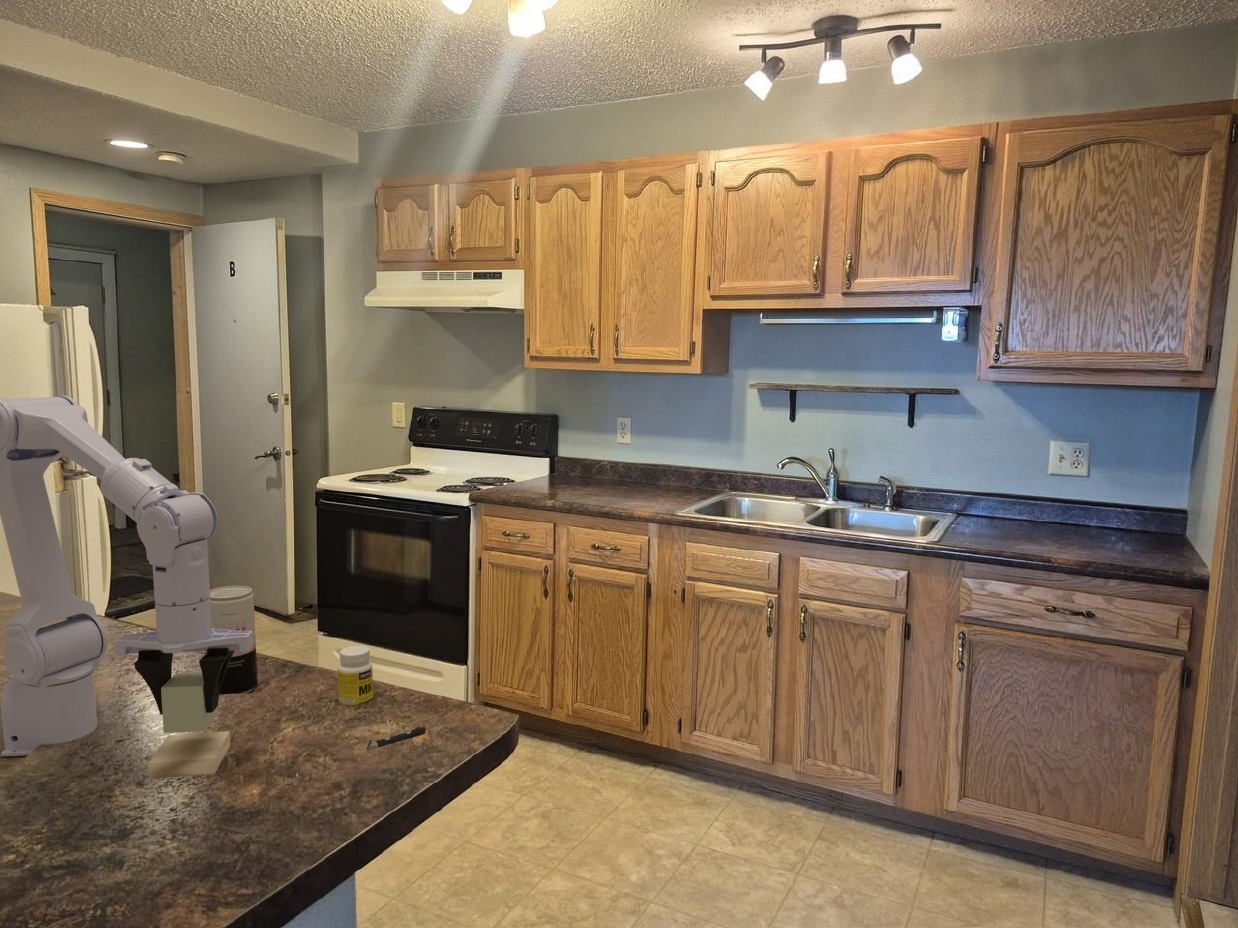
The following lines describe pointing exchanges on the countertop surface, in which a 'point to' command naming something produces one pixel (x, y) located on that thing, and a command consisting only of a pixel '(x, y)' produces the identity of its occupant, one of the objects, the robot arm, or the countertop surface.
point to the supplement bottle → (355, 676)
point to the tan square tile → (189, 755)
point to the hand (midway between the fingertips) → (189, 710)
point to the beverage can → (236, 613)
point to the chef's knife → (395, 738)
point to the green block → (185, 704)
